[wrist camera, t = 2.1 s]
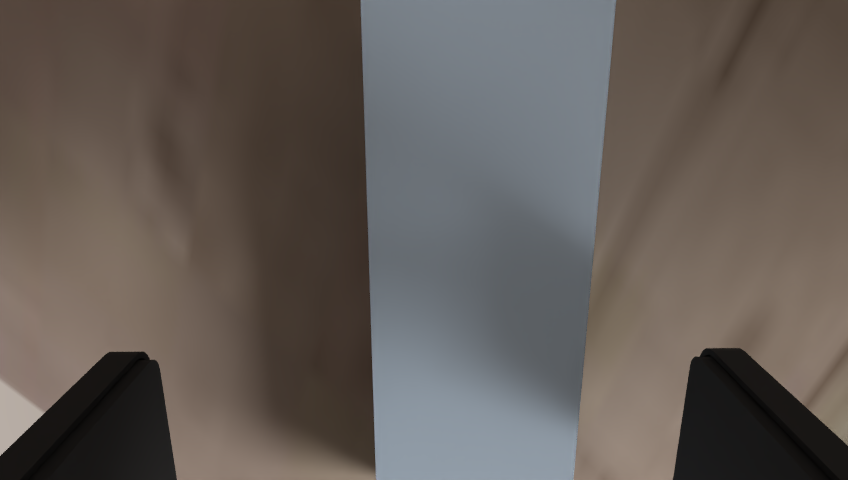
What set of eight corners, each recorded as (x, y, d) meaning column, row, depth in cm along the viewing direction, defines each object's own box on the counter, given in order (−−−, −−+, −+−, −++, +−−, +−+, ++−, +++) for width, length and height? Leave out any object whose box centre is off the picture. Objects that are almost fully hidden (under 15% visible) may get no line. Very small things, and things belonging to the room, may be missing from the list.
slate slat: (549, 17, 15) (616, -4, 9) (522, 478, 19) (557, 659, 13) (391, 17, 15) (360, -3, 9) (399, 476, 19) (381, 655, 14)
